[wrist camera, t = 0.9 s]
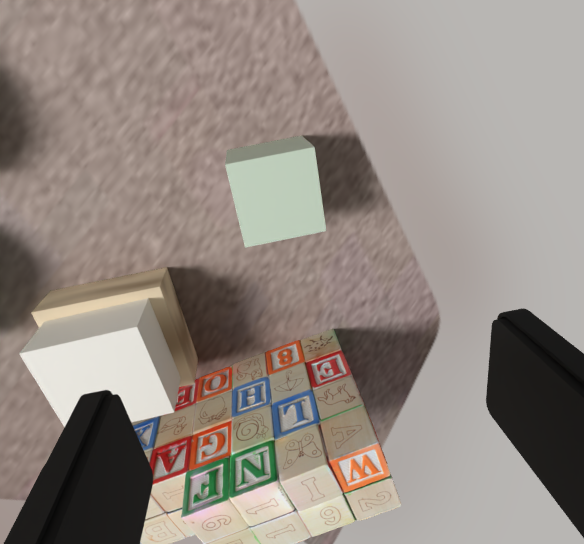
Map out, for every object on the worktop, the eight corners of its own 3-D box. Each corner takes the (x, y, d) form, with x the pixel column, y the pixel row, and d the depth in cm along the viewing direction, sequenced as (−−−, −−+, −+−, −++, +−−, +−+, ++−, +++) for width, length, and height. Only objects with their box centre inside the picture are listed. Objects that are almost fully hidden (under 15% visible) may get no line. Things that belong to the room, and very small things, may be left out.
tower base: (52, 287, 30) (31, 312, 27) (167, 264, 30) (159, 286, 27) (96, 376, 33) (82, 407, 30) (198, 355, 34) (194, 383, 31)
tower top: (44, 321, 27) (19, 353, 24) (148, 298, 27) (136, 326, 24) (87, 399, 30) (70, 436, 27) (180, 377, 30) (174, 412, 27)
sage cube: (227, 149, 27) (225, 164, 22) (301, 135, 27) (314, 146, 22) (243, 221, 29) (245, 247, 24) (312, 207, 29) (326, 231, 25)
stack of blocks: (136, 458, 37) (94, 617, 26) (99, 411, 35) (35, 568, 24) (354, 379, 37) (405, 509, 26) (334, 325, 34) (382, 445, 23)
